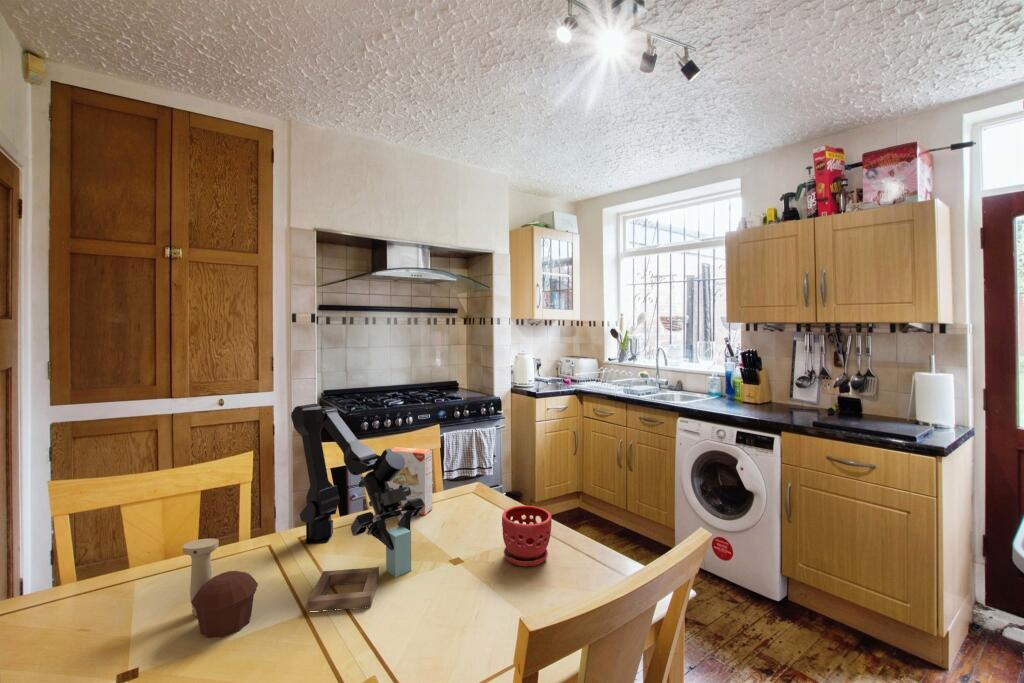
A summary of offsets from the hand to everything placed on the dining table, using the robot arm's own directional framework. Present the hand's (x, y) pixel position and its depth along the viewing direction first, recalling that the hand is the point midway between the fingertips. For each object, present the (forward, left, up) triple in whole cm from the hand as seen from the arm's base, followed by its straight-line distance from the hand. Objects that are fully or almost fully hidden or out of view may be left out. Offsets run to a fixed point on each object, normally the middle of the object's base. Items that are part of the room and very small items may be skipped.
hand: (401, 546), depth 116 cm
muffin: (-34, -16, -7) cm, 38 cm away
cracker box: (-1, +42, -7) cm, 43 cm away
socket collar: (-12, -8, -7) cm, 16 cm away
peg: (-1, +1, -7) cm, 7 cm away
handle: (-41, -11, -7) cm, 43 cm away
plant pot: (+32, +2, -7) cm, 33 cm away
